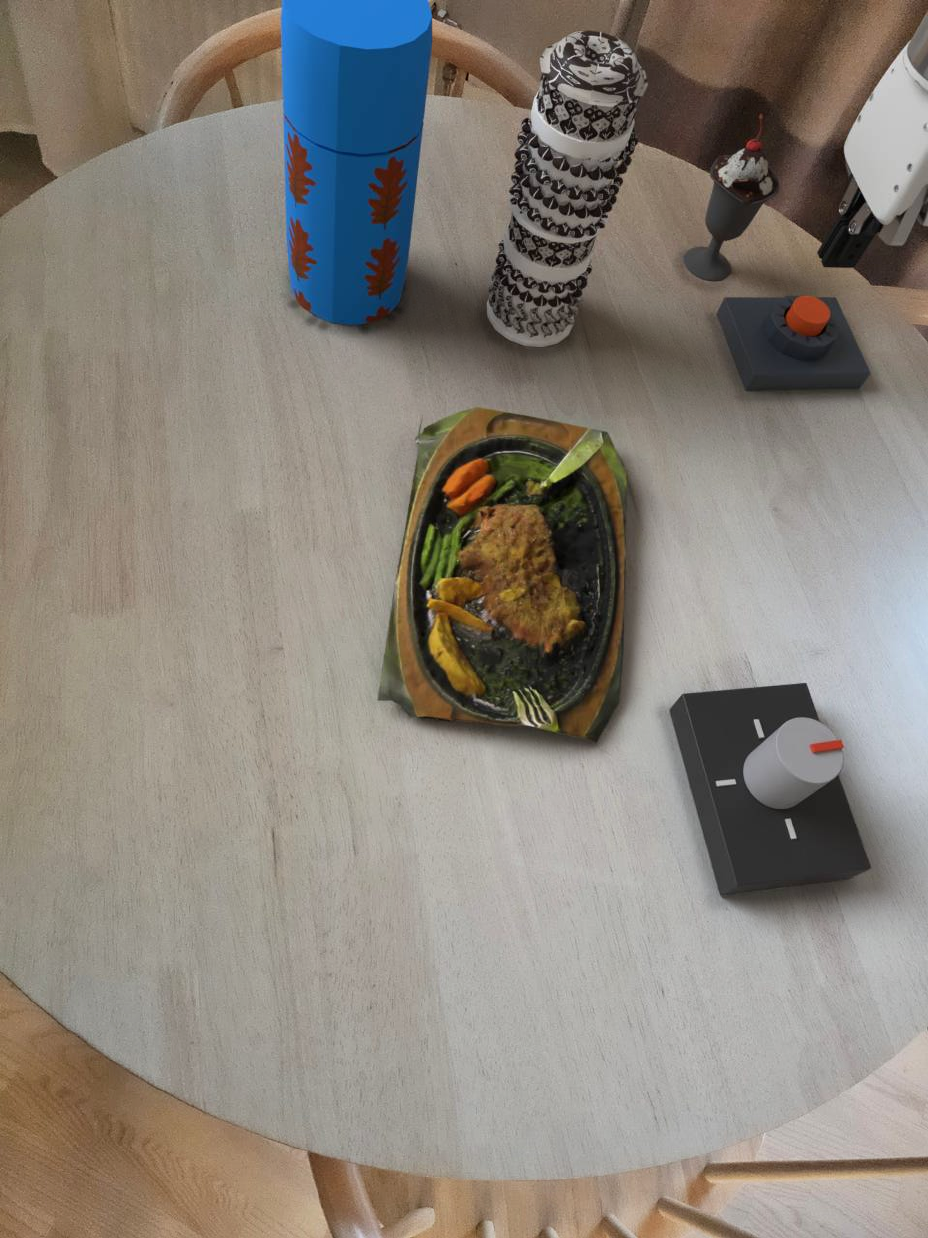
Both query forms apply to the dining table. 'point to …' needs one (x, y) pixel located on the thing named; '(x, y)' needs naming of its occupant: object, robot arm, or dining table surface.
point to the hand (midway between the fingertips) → (835, 260)
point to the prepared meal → (511, 576)
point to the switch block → (789, 347)
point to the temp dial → (793, 763)
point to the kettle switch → (808, 316)
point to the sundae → (732, 205)
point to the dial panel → (740, 824)
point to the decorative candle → (564, 184)
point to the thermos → (352, 149)
